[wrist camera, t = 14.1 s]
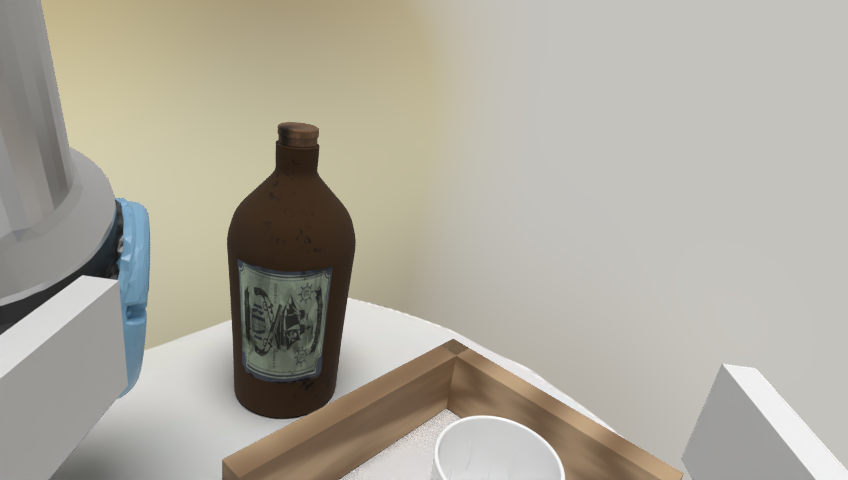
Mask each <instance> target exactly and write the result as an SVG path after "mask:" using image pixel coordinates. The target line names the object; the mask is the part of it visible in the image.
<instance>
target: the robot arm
mask: <svg viewBox="0 0 848 480" xmlns="http://www.w3.org/2000/svg"><path fill="white" fill-rule="evenodd" d="M149 271H150V228H149V216H148V212H147V210H146V209H145V207H144V206H143V205H141V204H139V203H137V202H130V201H127V200H125V199H124V198H115V197H114V194H113V191H112V188H111V185H110V183H109V180H108V178H107V177H106V175H105V174H104V173H103V171H102V170H101V169H100V168H99V167H98V166H97V165H96V164H95V163H94V162H93V161H91V160H90V159H89V158H87V157H86V156H84V155H83V154H82V153H80V152H78V151H76V150H75V149H73V148H71V147H69V144H68V139H67V134H66V128H65V123H64V118H63V113H62V108H61V103H60V98H59V92H58V87H57V82H56V77H55V72H54V67H53V61H52V56H51V51H50V46H49V41H48V36H47V30H46V25H45V20H44V15H43V10H42V5H41V0H0V480H49V479H50V478H51V477H52V475H53V474H54V473H55V472H56V471H57V469H58V468H59V467H60V466H61V465H62V463H63V462H64V461H65V460H66V459H67V457H68V456H69V455H70V454H71V453H72V452H73V450H74V449H75V448H76V447H77V446H78V444H79V443H80V442H81V441H82V440H83V438H84V437H85V436H86V435H87V434H88V432H89V431H90V430H91V429H92V428H93V427H94V425H95V424H96V423H97V422H98V421H99V419H100V418H101V417H102V416H103V415H104V413H105V412H106V411H107V410H108V409H109V407H110V406H111V405H112V404H113V403H114V402H115V400H116V399H119V398H121V397H122V396H124V395H126V394H127V393H128V392H129V391H130V390H131V389H132V388H133V387H134V385H135V384H136V382H137V380H138V378H139V375H140V371H141V367H142V361H143V354H144V345H145V334H146V310H145V308H146V306H147V297H148V290H149ZM681 460H682V461H683V463H684V465H685V467H686V469H687V471H688V472H689V474H690V476H691V478H692V480H848V471H847V470H846V469H845V468H844V466H843V465H842V464H841V463H840V462H839V461H838V460H837V458H835V456H834V455H833V454H832V453H831V452H830V451H829V450H828V448H827V447H826V446H825V445H824V444H823V443H822V442H821V441H820V440H819V438H818V437H817V436H816V435H815V434H814V433H813V432H812V430H811V429H810V428H809V427H808V426H807V425H806V424H805V423H804V422H803V420H802V419H801V418H800V417H799V416H798V415H797V414H796V413H795V412H794V410H793V409H792V408H791V407H790V406H789V405H788V404H787V402H786V401H785V400H784V399H783V398H782V397H781V396H780V395H779V394H778V393H777V391H776V390H775V389H774V388H773V387H772V386H771V385H770V383H768V381H767V380H766V379H765V378H764V377H763V376H762V375H761V373H760V372H759V371H758V370H757V369H756V368H750V367H743V366H736V365H728V364H722V365H721V367H720V369H719V372H718V374H717V376H716V379H715V381H714V383H713V386H712V388H711V391H710V393H709V395H708V397H707V400H706V402H705V404H704V407H703V409H702V411H701V413H700V416H699V418H698V420H697V423H696V425H695V427H694V430H693V432H692V434H691V437H690V439H689V441H688V444H687V446H686V448H685V451H684V453H683V455H682V458H681Z"/></svg>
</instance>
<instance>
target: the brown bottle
mask: <svg viewBox="0 0 848 480" xmlns="http://www.w3.org/2000/svg"><path fill="white" fill-rule="evenodd" d="M278 134H279V140H278V141H276V168H275V171H274V172H273V173H272V174H271V175H270V176H269V177H268V178H267V179H266V180H265V181H264V182H263V183H262V184H260V185H259V186H258V187H257V188H256V189H255V190H254V191H253V192H252V193H250V194H249V195H248V196H247V197H246V198H245V199H244V200H243V201H242V202H241V203H240V205H239V206H238V207H237V209H236V211H235V213H234V215H233V218H232V221H231V224H230V227H229V231H228V237H227V249H228V264H229V279H230V296H231V311H232V312H231V314H232V332H233V358H234V387H235V393H236V396H237V398H238V400H239V401H240V402H241V404H242V405H244V406H245V407H246V408H248V409H249V410H251V411H253V412H255V413H258V414H260V415H264V416H268V417H276V418H288V417H296V416H301V415H305V414H308V413H310V412H313V411H315V410H317V409H318V408H320V407H322V406H323V405H324V404H325V403H327V402H328V401H329V399H330V398H331V397H332V395H333V393H334V390H335V386H336V379H337V371H338V363H339V354H340V346H341V339H342V332H343V325H344V318H345V311H346V305H347V298H348V291H349V285H350V279H351V272H352V265H353V260H354V253H355V233H354V228H353V224H352V220H351V217H350V215H349V213H348V211H347V209H346V208H345V207H344V205H343V204H342V203H341V202H340V200H339V199H338V198H337V197H336V196H335V194H334V193H333V192H332V191H331V190H330V189H329V188H328V186H327V185H326V184H325V183H324V182H323V180H322V179H321V178H320V176H319V175H318V173H317V166H318V157H319V145H318V144H317V138H318V136H319V129H318V128H317V127H316V126H313V125H310V124H305V123H295V122H287V123H281V124H279V125H278Z"/></svg>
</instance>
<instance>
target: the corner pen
mask: <svg viewBox="0 0 848 480" xmlns="http://www.w3.org/2000/svg"><path fill="white" fill-rule="evenodd" d="M446 408H447V409H449V410H450V411H452V412H453V413H455V414H456V415H458V416H459V417H460V418H465V417H470V416H480V415H485V416H496V417H501V418H505V419H509V420H512V421H514V422H517V423H519V424H522V425H524V426H526V427H527V428H529V429H531V430H533V431H534V432H536V433H537V434H538V435H540V436H541V437H542V438H543V439H544V440H545V441H547V442H548V443H549V445H550V446H551V447H552V448H553V449H554V451H555V452H556V453H557V455H558V457H559V458H560V460H561V463H562V465H563V468H564V473H565V480H681V479H682V477H683V473H682V472H680V471H678V470H677V469H675V468H673V467H672V466H670V465H668V464H666V463H665V462H663V461H661V460H660V459H658V458H656V457H654V456H653V455H651V454H649V453H648V452H646V451H644V450H643V449H641V448H639V447H637V446H636V445H634V444H632V443H631V442H629V441H627V440H625V439H624V438H622V437H620V436H619V435H617V434H615V433H613V432H612V431H610V430H608V429H607V428H605V427H603V426H601V425H600V424H598V423H596V422H595V421H593V420H591V419H589V418H588V417H586V416H584V415H583V414H581V413H579V412H578V411H576V410H574V409H572V408H571V407H569V406H567V405H566V404H564V403H562V402H560V401H559V400H557V399H555V398H554V397H552V396H550V395H548V394H547V393H545V392H543V391H542V390H540V389H538V388H536V387H535V386H533V385H531V384H530V383H528V382H526V381H524V380H523V379H521V378H519V377H518V376H516V375H514V374H513V373H511V372H509V371H507V370H506V369H504V368H502V367H501V366H499V365H497V364H495V363H494V362H492V361H490V360H489V359H487V358H485V357H483V356H482V355H480V354H478V353H477V352H475V351H473V350H471V349H470V348H468V347H466V346H465V345H463V344H461V343H459V342H458V341H456V340H454V339H452V340H450V341H448V342H446V343H444V344H442V345H440V346H438V347H436V348H435V349H433V350H431V351H429V352H427V353H425V354H423V355H421V356H419V357H417V358H415V359H414V360H412V361H410V362H408V363H406V364H404V365H402V366H400V367H398V368H396V369H394V370H393V371H391V372H389V373H387V374H385V375H383V376H381V377H379V378H377V379H375V380H373V381H372V382H370V383H368V384H366V385H364V386H362V387H360V388H358V389H356V390H354V391H352V392H350V393H349V394H347V395H345V396H343V397H341V398H339V399H337V400H335V401H333V402H331V403H329V404H328V405H326V406H324V407H322V408H320V409H318V410H316V411H314V412H312V413H310V414H308V415H307V416H305V417H303V418H301V419H299V420H297V421H295V422H293V423H291V424H289V425H287V426H286V427H284V428H282V429H280V430H278V431H276V432H274V433H272V434H270V435H268V436H266V437H264V438H263V439H261V440H259V441H257V442H255V443H253V444H251V445H249V446H247V447H245V448H243V449H242V450H240V451H238V452H236V453H234V454H232V455H230V456H228V457H226V458H224V459H222V480H339V479H340V478H342V477H343V476H345V475H346V474H348V473H349V472H351V471H352V470H354V469H355V468H357V467H358V466H360V465H361V464H363V463H364V462H366V461H367V460H369V459H370V458H372V457H373V456H375V455H376V454H378V453H379V452H381V451H382V450H384V449H385V448H387V447H388V446H390V445H391V444H393V443H394V442H396V441H397V440H399V439H400V438H402V437H403V436H405V435H406V434H408V433H409V432H411V431H412V430H414V429H415V428H417V427H419V426H420V425H422V424H423V423H425V422H426V421H428V420H429V419H431V418H432V417H434V416H435V415H437V414H438V413H440V412H441V411H443V410H444V409H446Z"/></svg>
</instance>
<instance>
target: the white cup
mask: <svg viewBox="0 0 848 480" xmlns="http://www.w3.org/2000/svg"><path fill="white" fill-rule="evenodd" d="M431 480H565V473H564V468H563V465H562V463H561V460H560V458H559V457H558V455H557V453H556V452H555V451H554V449H553V448H552V447H551V446H550V445H549V443H548V442H547V441H545V440H544V439H543V438H542V437H541V436H540V435H538V434H537V433H536V432H534V431H533V430H531V429H529V428H527V427H526V426H524V425H522V424H519V423H517V422H514V421H512V420H509V419H505V418H501V417H496V416H485V415H480V416H470V417H465V418H462V419H459V420H457V421H455V422H453V423H451V424H450V425H448V426H447V427H446V428H445V429H444V430H443V431H442V432H441V433H440V435H439V436H438V438H437V440H436V443H435V447H434V455H433V464H432V472H431Z"/></svg>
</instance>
